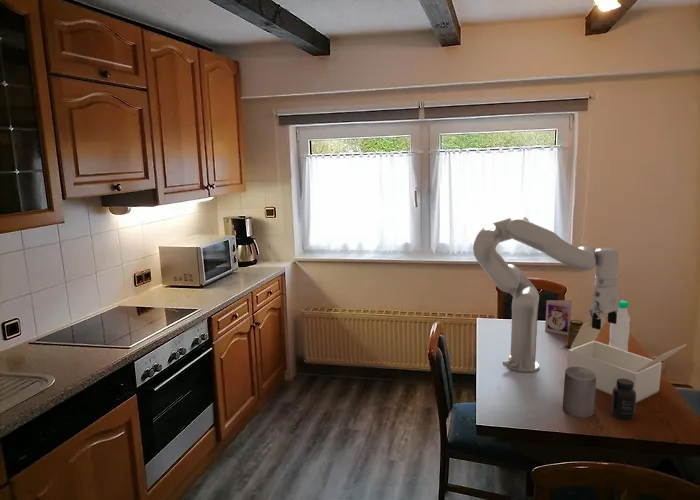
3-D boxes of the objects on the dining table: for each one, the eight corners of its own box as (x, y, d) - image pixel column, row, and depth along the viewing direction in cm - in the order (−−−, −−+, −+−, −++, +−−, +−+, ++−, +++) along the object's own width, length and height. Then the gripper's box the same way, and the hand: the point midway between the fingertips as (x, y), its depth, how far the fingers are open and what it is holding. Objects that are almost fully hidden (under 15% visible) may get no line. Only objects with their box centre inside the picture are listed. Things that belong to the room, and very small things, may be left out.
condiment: (586, 347, 226) (587, 321, 224) (577, 353, 220) (579, 326, 218) (569, 343, 231) (571, 317, 229) (561, 348, 225) (562, 322, 223)
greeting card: (544, 331, 246) (545, 300, 243) (549, 326, 252) (551, 297, 249) (569, 336, 239) (571, 305, 236) (574, 331, 244) (576, 301, 241)
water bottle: (608, 355, 217) (612, 297, 212) (627, 358, 213) (632, 300, 208) (606, 361, 211) (611, 302, 206) (626, 364, 208) (631, 305, 203)
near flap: (636, 371, 175) (637, 372, 175) (662, 354, 167) (663, 355, 167) (660, 360, 183) (661, 361, 182) (686, 343, 175) (687, 345, 174)
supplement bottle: (636, 414, 170) (640, 380, 168) (631, 423, 165) (634, 388, 163) (614, 408, 175) (617, 374, 172) (608, 416, 170) (610, 382, 167)
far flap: (583, 324, 190) (582, 324, 190) (571, 348, 196) (570, 347, 196) (608, 316, 198) (606, 316, 198) (595, 339, 203) (594, 338, 204)
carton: (633, 404, 177) (636, 374, 175) (566, 376, 198) (568, 349, 196) (658, 391, 185) (661, 362, 183) (592, 366, 207) (593, 340, 205)
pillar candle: (557, 404, 178) (559, 363, 175) (584, 402, 179) (587, 362, 176) (571, 419, 169) (573, 376, 166) (600, 417, 169) (603, 374, 166)
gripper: (601, 287, 183) (599, 333, 187) (629, 279, 192) (627, 323, 195) (582, 283, 190) (580, 328, 193) (610, 275, 198) (608, 318, 202)
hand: (604, 325), depth 194 cm, fingers open, 9 cm apart
